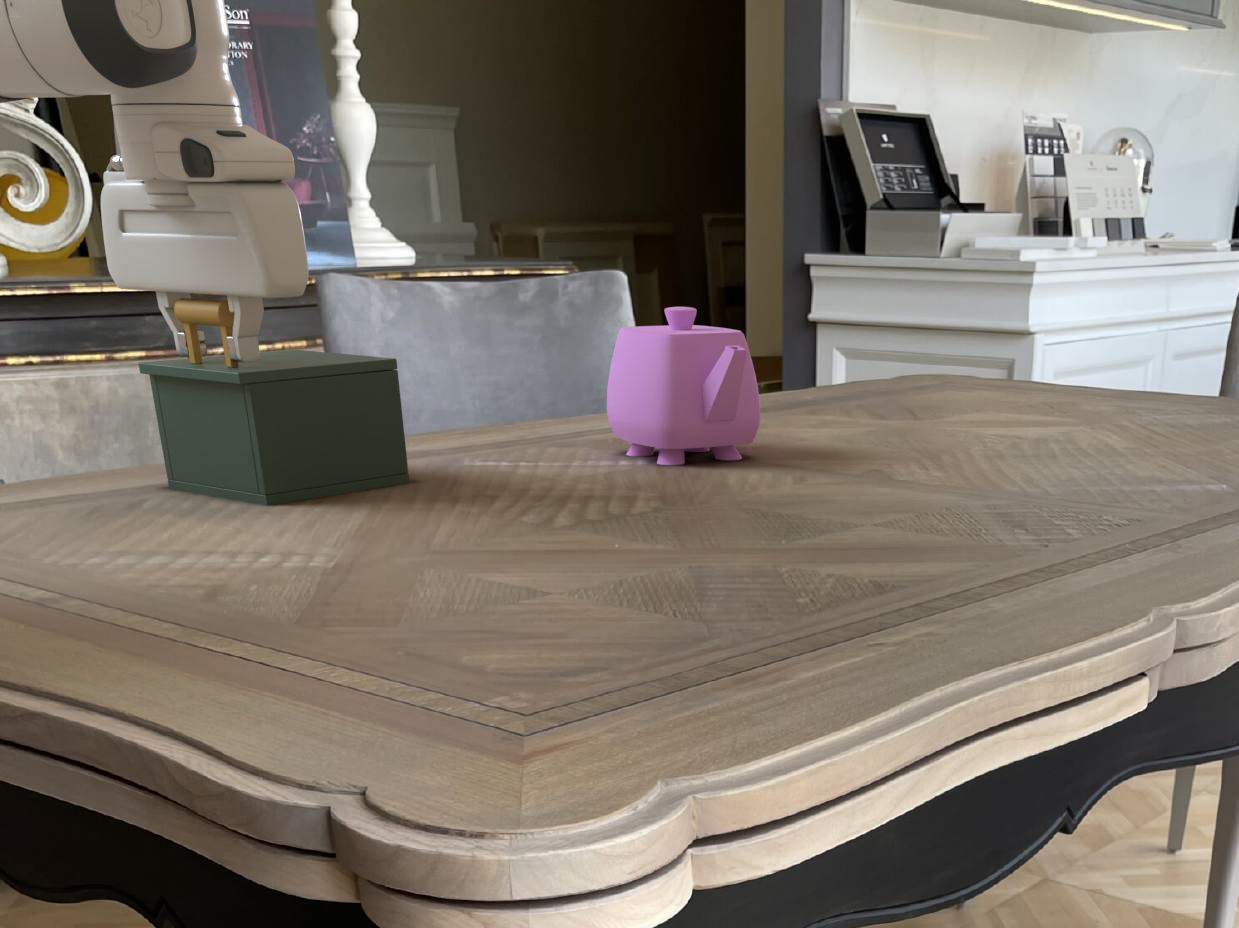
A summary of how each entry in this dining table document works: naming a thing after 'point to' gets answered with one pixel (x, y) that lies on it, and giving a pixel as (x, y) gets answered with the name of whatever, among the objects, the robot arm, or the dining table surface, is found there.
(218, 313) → the lid
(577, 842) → the dining table surface
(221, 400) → the chest
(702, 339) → the teapot
